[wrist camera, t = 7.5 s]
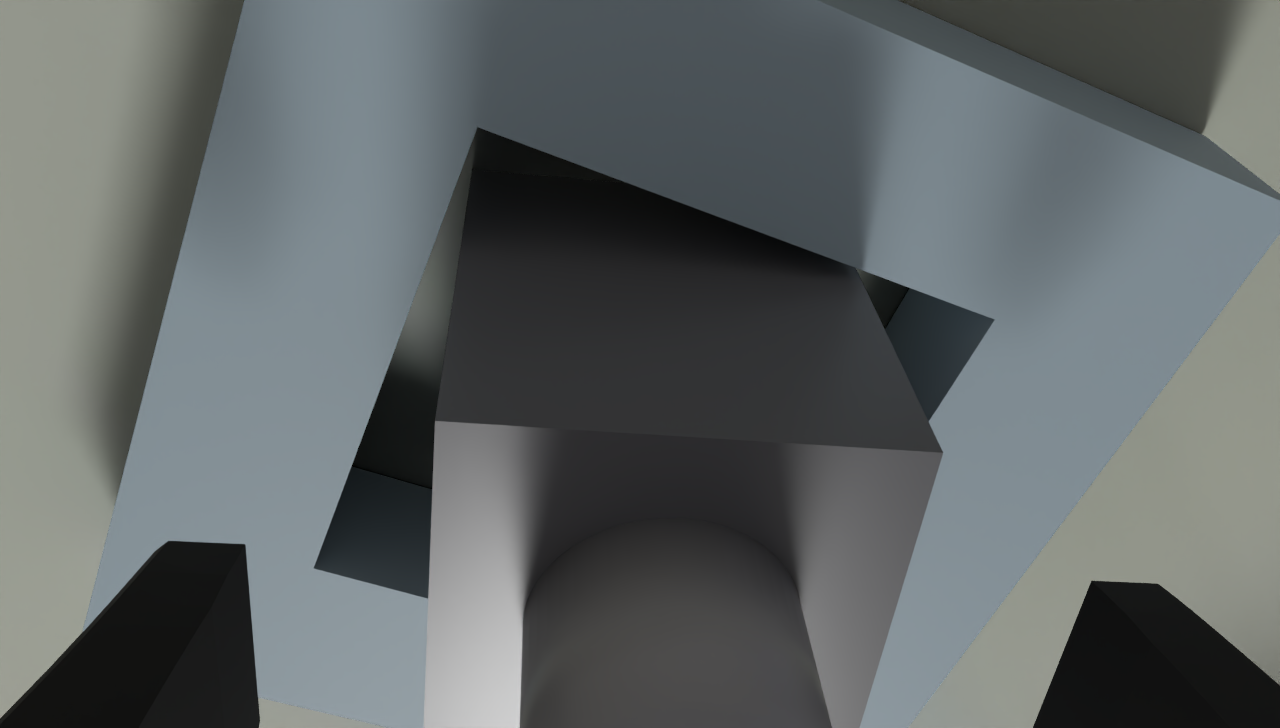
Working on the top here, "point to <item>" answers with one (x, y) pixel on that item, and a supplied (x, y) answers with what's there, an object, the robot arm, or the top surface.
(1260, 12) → the top surface
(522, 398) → the plug
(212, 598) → the robot arm
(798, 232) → the socket plate
